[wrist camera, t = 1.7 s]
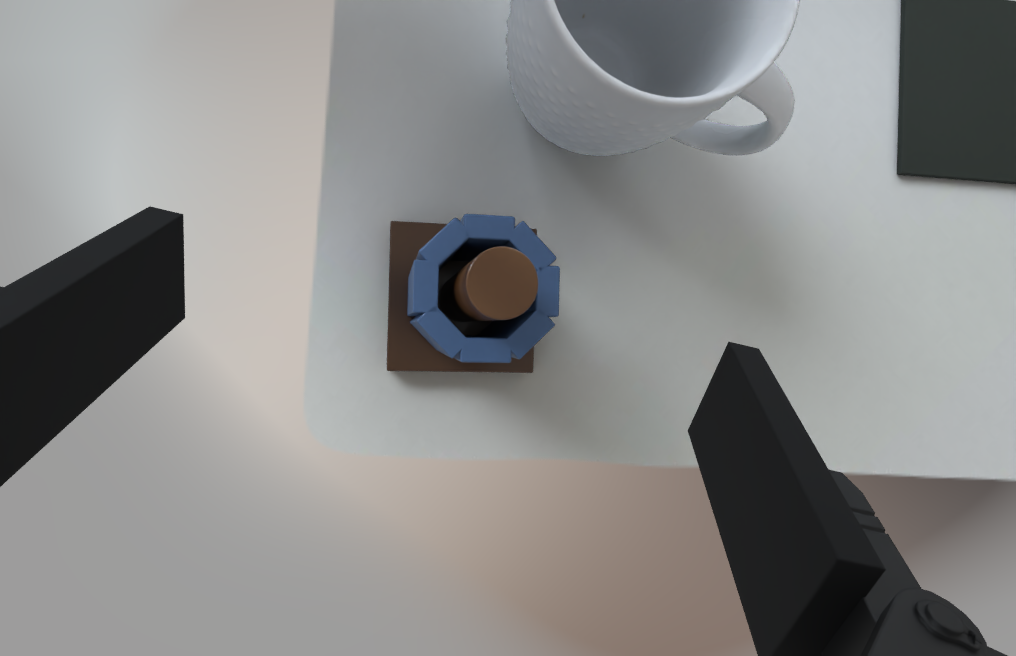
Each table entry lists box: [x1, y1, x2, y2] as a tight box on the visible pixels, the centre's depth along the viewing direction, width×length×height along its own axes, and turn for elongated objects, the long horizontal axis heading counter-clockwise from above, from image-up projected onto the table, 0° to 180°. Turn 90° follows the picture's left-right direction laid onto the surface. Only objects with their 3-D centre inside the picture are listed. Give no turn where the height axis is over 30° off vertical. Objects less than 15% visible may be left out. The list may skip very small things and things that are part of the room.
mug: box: [506, 0, 800, 156], centre depth 31 cm, size 15×11×13 cm
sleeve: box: [407, 214, 560, 363], centre depth 30 cm, size 6×6×9 cm
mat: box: [897, 0, 1016, 184], centre depth 42 cm, size 12×12×1 cm
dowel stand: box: [387, 221, 538, 373], centre depth 29 cm, size 8×8×14 cm
